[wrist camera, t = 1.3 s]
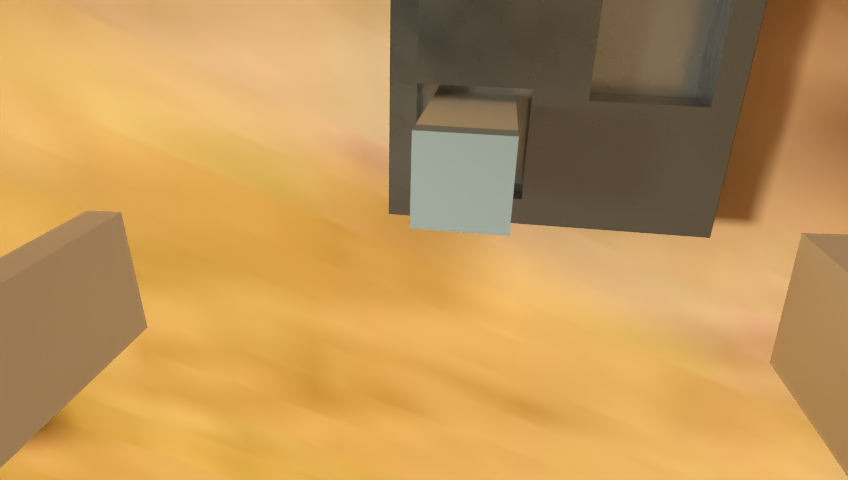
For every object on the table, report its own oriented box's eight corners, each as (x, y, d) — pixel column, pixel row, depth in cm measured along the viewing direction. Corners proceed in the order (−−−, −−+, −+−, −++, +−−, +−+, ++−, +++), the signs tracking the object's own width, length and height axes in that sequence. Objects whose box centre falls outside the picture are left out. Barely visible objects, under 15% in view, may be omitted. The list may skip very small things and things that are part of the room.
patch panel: (398, 194, 34) (388, 213, 31) (402, -63, 29) (391, -68, 26) (692, 215, 32) (709, 237, 30) (753, -54, 27) (780, -57, 24)
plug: (434, 165, 33) (409, 228, 24) (436, 90, 31) (412, 130, 23) (508, 170, 32) (509, 235, 24) (515, 94, 31) (518, 136, 22)
